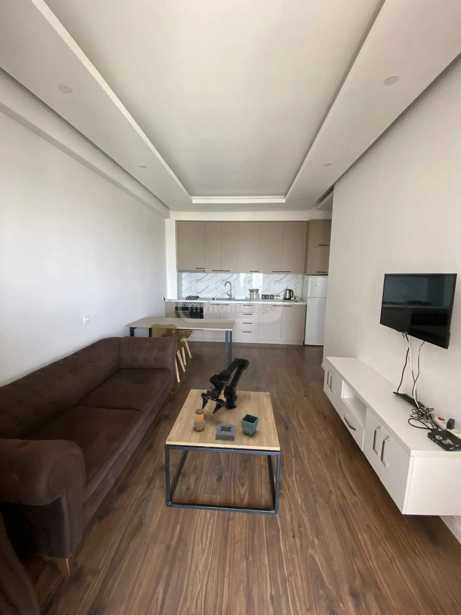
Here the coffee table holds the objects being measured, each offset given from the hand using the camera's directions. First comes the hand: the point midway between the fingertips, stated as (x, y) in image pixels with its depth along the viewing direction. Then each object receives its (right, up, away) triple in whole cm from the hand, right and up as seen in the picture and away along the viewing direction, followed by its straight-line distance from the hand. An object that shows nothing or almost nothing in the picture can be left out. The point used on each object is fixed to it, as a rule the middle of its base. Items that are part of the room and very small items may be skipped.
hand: (207, 411), depth 166 cm
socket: (+12, -9, -10) cm, 19 cm away
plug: (-5, -8, -5) cm, 11 cm away
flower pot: (+27, -10, -8) cm, 30 cm away
